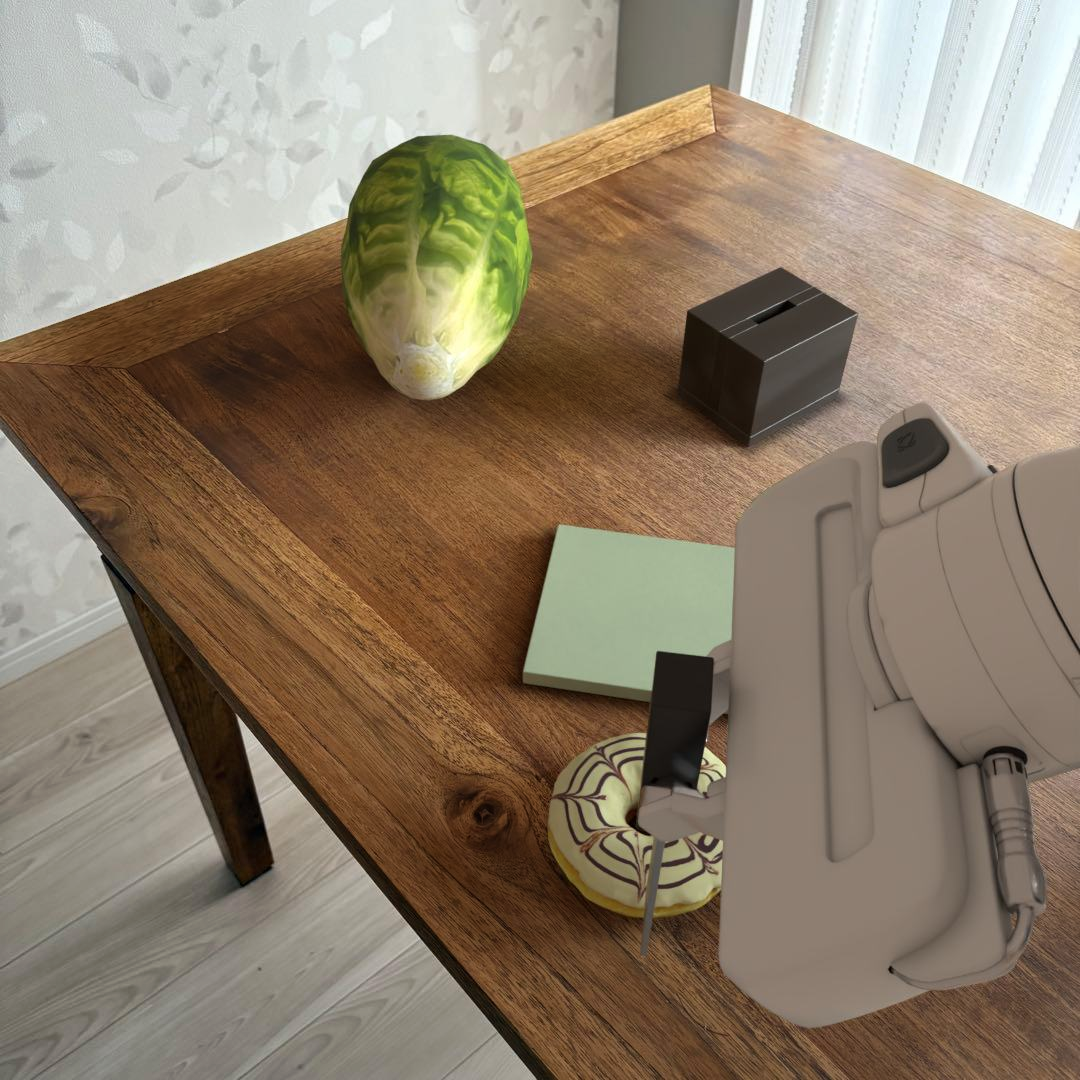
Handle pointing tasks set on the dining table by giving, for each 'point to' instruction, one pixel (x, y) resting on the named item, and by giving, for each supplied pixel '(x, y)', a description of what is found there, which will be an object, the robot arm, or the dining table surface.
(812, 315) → the knife block
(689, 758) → the knife
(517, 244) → the lettuce
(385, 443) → the dining table surface
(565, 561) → the cutting board
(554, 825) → the decorated donut
